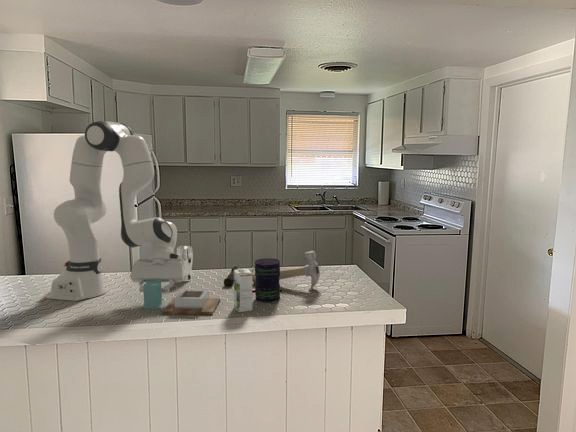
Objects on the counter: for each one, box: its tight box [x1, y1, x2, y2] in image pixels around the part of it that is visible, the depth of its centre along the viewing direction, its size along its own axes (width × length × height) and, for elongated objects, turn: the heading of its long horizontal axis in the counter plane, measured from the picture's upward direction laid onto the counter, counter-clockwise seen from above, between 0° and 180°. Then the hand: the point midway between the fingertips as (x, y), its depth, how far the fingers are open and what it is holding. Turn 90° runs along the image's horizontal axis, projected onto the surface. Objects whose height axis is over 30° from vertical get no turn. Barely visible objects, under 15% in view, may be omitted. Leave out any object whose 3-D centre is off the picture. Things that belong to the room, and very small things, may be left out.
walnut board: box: [161, 297, 221, 315], centre depth 163 cm, size 18×14×1 cm
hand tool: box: [223, 266, 238, 288], centre depth 197 cm, size 19×4×5 cm, turn 174°
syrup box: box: [233, 268, 253, 313], centre depth 160 cm, size 6×6×14 cm
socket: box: [174, 289, 210, 310], centre depth 162 cm, size 10×10×4 cm
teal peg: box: [142, 281, 163, 310], centre depth 164 cm, size 5×5×9 cm
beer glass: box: [176, 245, 194, 283], centre depth 197 cm, size 7×7×15 cm
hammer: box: [252, 250, 321, 292], centre depth 187 cm, size 16×5×30 cm
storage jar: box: [254, 258, 281, 304], centre depth 171 cm, size 10×10×15 cm
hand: (154, 291), depth 164 cm, fingers open, 8 cm apart
